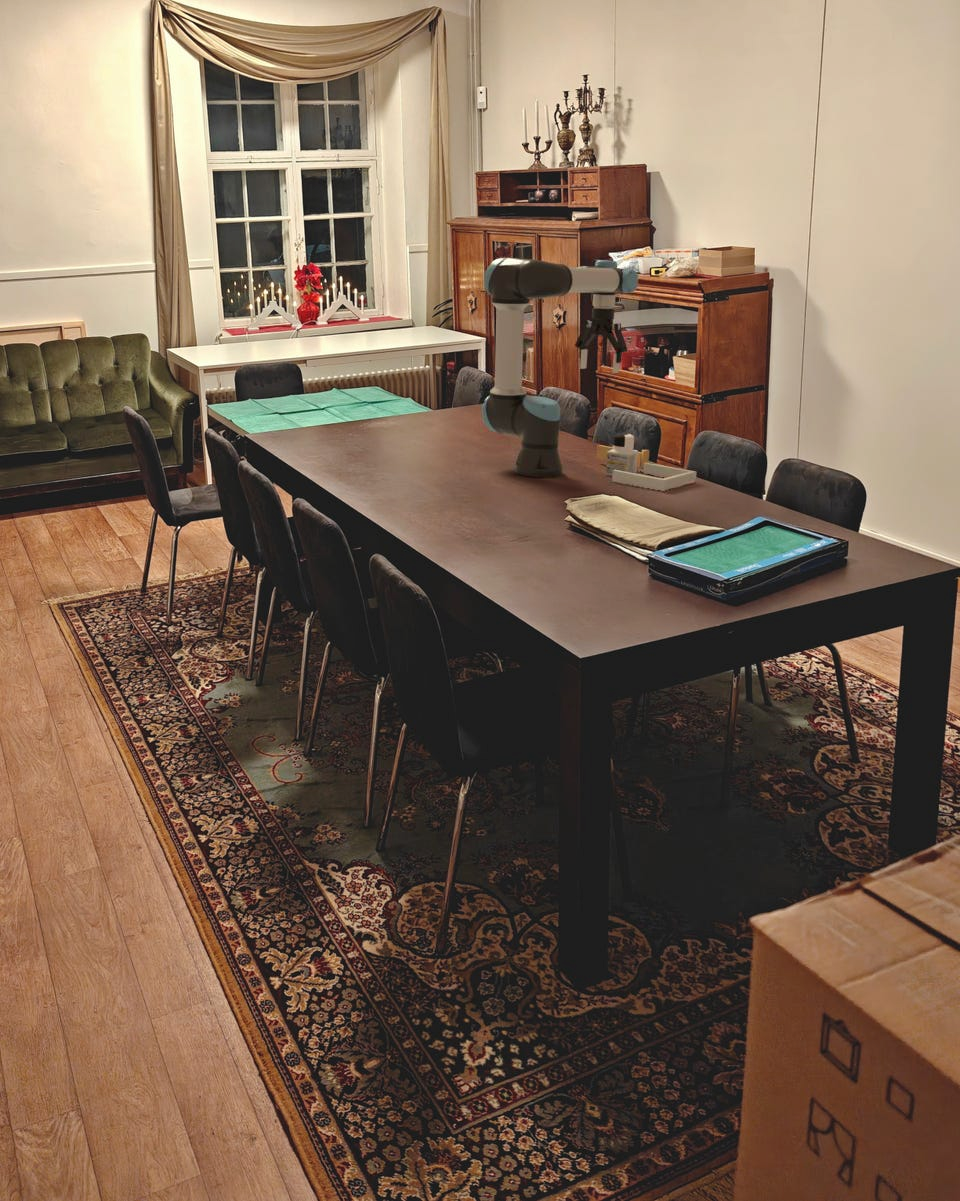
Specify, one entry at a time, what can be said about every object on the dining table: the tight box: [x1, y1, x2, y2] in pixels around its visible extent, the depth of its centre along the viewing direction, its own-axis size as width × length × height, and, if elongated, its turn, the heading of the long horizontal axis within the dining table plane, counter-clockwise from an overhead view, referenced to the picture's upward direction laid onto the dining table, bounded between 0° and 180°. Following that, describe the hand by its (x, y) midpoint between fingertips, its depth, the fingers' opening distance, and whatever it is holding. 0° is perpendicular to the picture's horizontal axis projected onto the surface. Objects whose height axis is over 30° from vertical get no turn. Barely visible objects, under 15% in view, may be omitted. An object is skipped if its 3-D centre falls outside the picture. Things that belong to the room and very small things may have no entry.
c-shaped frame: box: [611, 462, 698, 492], centre depth 354 cm, size 19×18×4 cm
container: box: [605, 432, 639, 477], centre depth 362 cm, size 8×8×13 cm
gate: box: [596, 444, 650, 469], centre depth 373 cm, size 20×2×6 cm, turn 49°
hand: (599, 370), depth 396 cm, fingers open, 13 cm apart
